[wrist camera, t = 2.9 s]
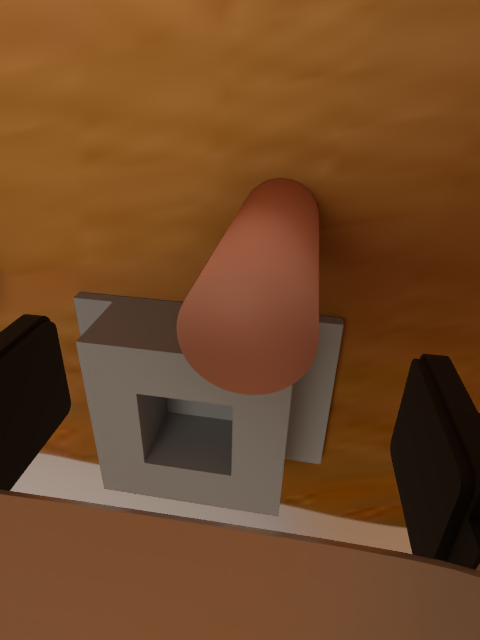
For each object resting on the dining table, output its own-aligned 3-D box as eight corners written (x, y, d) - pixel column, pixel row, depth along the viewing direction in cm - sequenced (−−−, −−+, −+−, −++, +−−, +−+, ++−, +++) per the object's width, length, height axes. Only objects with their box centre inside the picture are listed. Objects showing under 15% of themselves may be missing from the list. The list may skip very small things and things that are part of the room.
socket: (342, 318, 24) (348, 372, 20) (320, 455, 30) (320, 523, 25) (79, 292, 27) (29, 336, 22) (103, 425, 32) (67, 482, 27)
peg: (323, 180, 21) (327, 279, 11) (314, 257, 23) (310, 402, 13) (243, 176, 22) (172, 265, 11) (240, 251, 24) (179, 386, 13)
